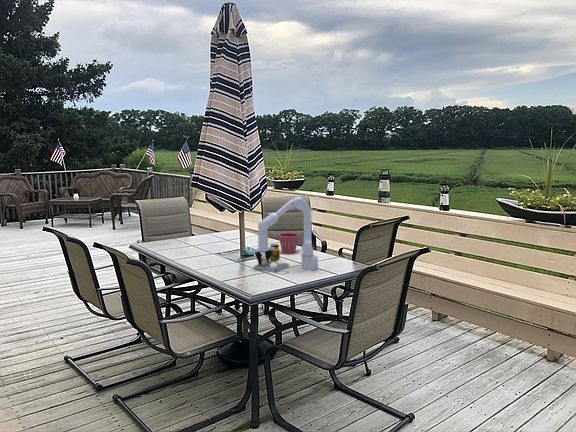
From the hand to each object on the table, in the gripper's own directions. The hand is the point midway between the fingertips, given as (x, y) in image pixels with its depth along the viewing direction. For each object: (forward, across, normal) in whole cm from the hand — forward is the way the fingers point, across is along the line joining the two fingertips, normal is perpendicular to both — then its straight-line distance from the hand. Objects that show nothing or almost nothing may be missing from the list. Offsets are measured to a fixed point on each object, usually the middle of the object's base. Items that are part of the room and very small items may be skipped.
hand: (263, 263), depth 280 cm
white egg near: (+3, +9, -3) cm, 10 cm away
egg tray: (+4, +5, -2) cm, 6 cm away
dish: (+4, +4, -14) cm, 15 cm away
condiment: (+4, +14, +11) cm, 18 cm away
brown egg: (+1, 0, 0) cm, 1 cm away
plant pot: (+4, +38, +31) cm, 49 cm away
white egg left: (+3, +3, -6) cm, 8 cm away
